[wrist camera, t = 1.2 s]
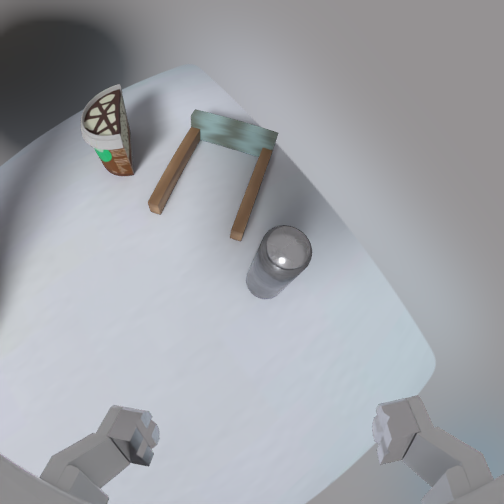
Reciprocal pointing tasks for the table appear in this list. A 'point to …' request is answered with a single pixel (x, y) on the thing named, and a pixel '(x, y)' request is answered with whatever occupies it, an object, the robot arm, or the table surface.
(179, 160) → the keeper cradle
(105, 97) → the food container
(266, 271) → the drinking glass
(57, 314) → the table surface
